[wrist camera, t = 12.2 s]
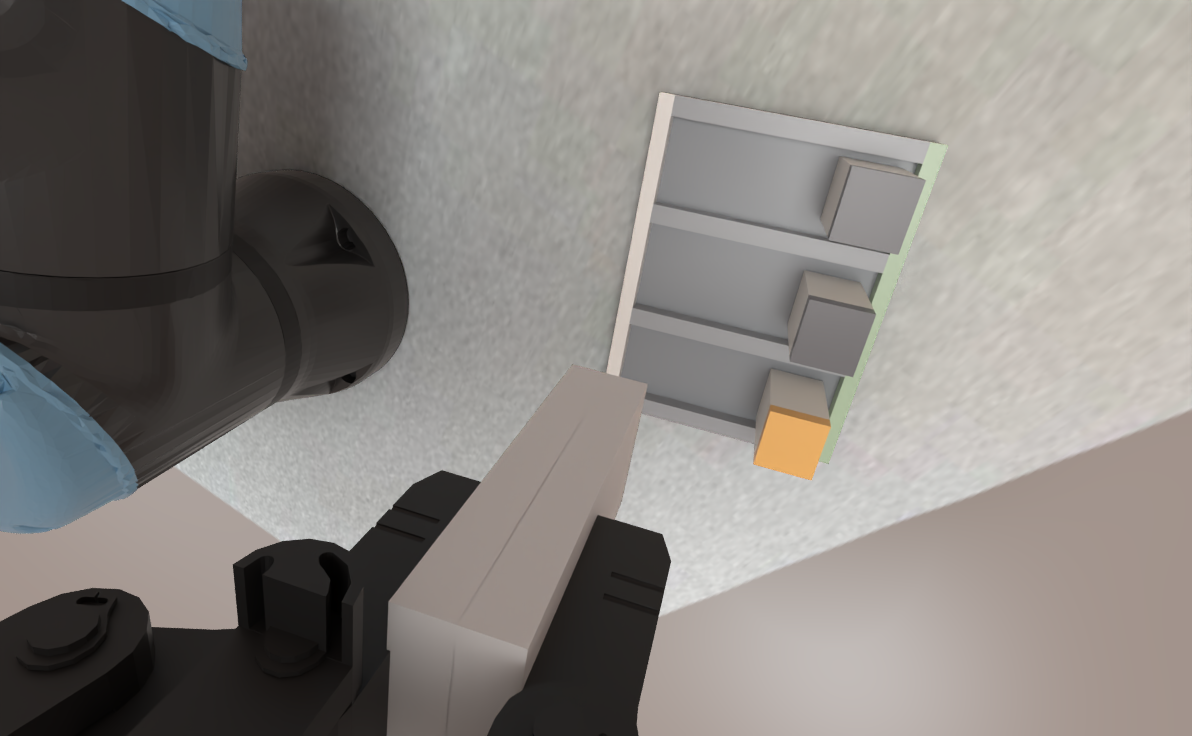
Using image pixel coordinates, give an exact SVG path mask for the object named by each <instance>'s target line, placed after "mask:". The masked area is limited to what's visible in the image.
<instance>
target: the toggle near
mask: <svg viewBox="0 0 1192 736" xmlns="http://www.w3.org/2000/svg"><path fill="white" fill-rule="evenodd" d="M925 182H926V180H924V179H922V178H920V177H918V176H916V175H914V174H913V173H911V172H909V171H907V170H905V169H903V168H899V167H894V166H889V165H884V164H879V163H874V162H868V161H863V160H858V159H853V158H848V157H842V156H840V157H839V160H838V164H837V167H836V170H835V173H834V176H833V180H832V183H831V186H830V189H829V193H828V196H827V199H826V202H825V205H824V209H823V212H822V215H821V218H820V220H821V222H822V225H823V227H824V230H825V232H826V235H827V237H828V240H831V241H836V242H840V243H845V244H850V245H854V246H859V247H864V248H868V249H873V250H878V251H882V252H887V253H892V254H896V255H899V252H900V249H901V247H902V244H903V241H904V239H905V236H906V233H907V230H908V228H909V225H910V222H911V220H912V217H913V214H914V212H915V209H916V206H917V203H918V201H919V198H920V195H921V193H922V190H923V187H924V185H925Z"/></svg>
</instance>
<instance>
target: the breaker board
mask: <svg viewBox="0 0 1192 736" xmlns="http://www.w3.org/2000/svg"><path fill="white" fill-rule="evenodd" d="M947 148H948V145H944V144H940V143H936V142H930V141H925V140H919V139H914V138H909V137H903V136H898V135H892V134H887V133H881V132H876V131H871V130H865V129H860V128H854V127H849V126H844V125H838V124H833V123H827V122H822V121H817V120H811V119H806V118H800V117H795V116H790V115H784V114H779V113H773V112H768V111H762V110H757V109H752V108H746V107H741V106H735V105H730V104H725V103H719V102H714V101H708V100H703V99H698V98H692V97H687V96H681V95H676V94H671V93H664V92H660V93H659V98H658V104H657V109H656V114H655V119H654V125H653V130H652V135H651V140H650V146H649V151H648V156H647V161H646V167H645V172H644V177H643V182H642V188H641V193H640V198H639V203H638V208H637V214H636V219H635V224H634V229H633V235H632V240H631V245H630V250H629V256H628V261H627V266H626V271H625V277H624V282H623V287H622V292H621V298H620V303H619V308H618V313H617V319H616V324H615V329H614V334H613V340H612V345H611V350H610V355H609V361H608V366H607V371H606V373H608V374H611V375H615V376H619V377H623V378H627V379H630V380H634V381H638V382H642V383H646V384H648V385H647V390H646V394H645V399H644V403H643V408H642V412H641V413H642V414H646V415H649V416H653V417H657V418H660V419H664V420H668V421H671V422H675V423H679V424H683V425H686V426H690V427H694V428H697V429H701V430H705V431H708V432H712V433H716V434H720V435H723V436H727V437H731V438H734V439H738V440H742V441H745V442H749V443H753V444H755V428H756V415H757V412H758V408H759V405H760V402H761V399H762V395H763V392H764V389H765V386H766V383H767V379H768V376H769V373H770V370H771V369H775V370H779V371H783V372H787V373H791V374H795V375H799V376H803V377H807V378H811V379H815V380H819V381H823V384H824V390H825V395H826V401H827V407H828V412H829V418H830V424H831V429H830V431H829V434H828V437H827V439H826V442H825V445H824V448H823V450H822V453H821V456H820V458H819V462H823V463H827V464H829V461H830V458H831V456H832V453H833V450H834V448H835V445H836V442H837V440H838V437H839V434H840V432H841V429H842V426H843V424H844V421H845V418H846V416H847V413H848V410H849V408H850V405H851V403H852V400H853V397H854V395H855V392H856V389H857V387H858V384H859V381H860V379H861V376H862V373H863V371H864V368H865V365H866V363H867V360H868V357H869V355H870V352H871V349H872V347H873V344H874V341H875V339H876V336H877V333H878V331H879V328H880V325H881V323H882V320H883V318H884V315H885V312H886V310H887V307H888V304H889V302H890V299H891V296H892V294H893V291H894V288H895V286H896V283H897V280H898V278H899V275H900V272H901V270H902V267H903V264H904V262H905V259H906V256H907V254H908V251H909V248H910V246H911V243H912V241H913V238H914V235H915V233H916V230H917V227H918V225H919V222H920V219H921V217H922V214H923V211H924V209H925V206H926V203H927V201H928V198H929V195H930V193H931V190H932V187H933V185H934V182H935V179H936V177H937V174H938V171H939V169H940V166H941V163H942V161H943V158H944V156H945V153H946V150H947ZM840 156H842V157H848V158H853V159H858V160H863V161H868V162H874V163H879V164H884V165H889V166H894V167H899V168H903V169H905V170H907V171H909V172H911V173H913V174H914V175H916V176H918V177H920V178H922V179H924V180H926V182H925V185H924V187H923V190H922V193H921V195H920V198H919V201H918V203H917V206H916V209H915V212H914V214H913V217H912V220H911V222H910V225H909V228H908V230H907V233H906V236H905V239H904V241H903V244H902V247H901V249H900V252H899V255H896V254H892V253H887V252H882V251H878V250H873V249H868V248H864V247H859V246H854V245H850V244H845V243H840V242H836V241H831V240H828V237H827V235H826V232H825V230H824V227H823V225H822V222H821V220H820V218H821V215H822V212H823V209H824V205H825V202H826V199H827V196H828V193H829V189H830V186H831V183H832V180H833V176H834V173H835V170H836V167H837V164H838V160H839V157H840ZM804 270H806V271H810V272H815V273H819V274H824V275H828V276H833V277H837V278H842V279H846V280H851V281H855V282H860V283H861V284H862V286H863V288H864V290H865V292H866V294H867V297H868V299H869V301H870V303H871V305H872V307H873V309H874V311H875V313H876V317H875V319H874V322H873V325H872V328H871V330H870V333H869V336H868V338H867V341H866V344H865V346H864V349H863V352H862V355H861V357H860V360H859V363H858V365H857V368H856V371H855V373H854V376H853V377H850V376H846V375H842V374H838V373H834V372H829V371H825V370H821V369H817V368H813V367H809V366H805V365H801V364H797V363H793V362H790V360H789V343H788V326H787V324H788V321H789V318H790V315H791V311H792V308H793V305H794V302H795V299H796V295H797V292H798V289H799V286H800V283H801V279H802V276H803V273H804Z"/></svg>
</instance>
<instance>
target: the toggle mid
mask: <svg viewBox="0 0 1192 736" xmlns="http://www.w3.org/2000/svg"><path fill="white" fill-rule="evenodd" d="M875 317H876V313H875V311H874V309H873V307H872V305H871V303H870V301H869V299H868V297H867V294H866V292H865V290H864V288H863V286H862V284H861V283H860V282H855V281H851V280H846V279H842V278H837V277H833V276H828V275H824V274H819V273H815V272H810V271H806V270H804V273H803V276H802V279H801V283H800V286H799V289H798V292H797V295H796V299H795V302H794V305H793V308H792V311H791V315H790V318H789V321H788V324H787V326H788V343H789V360H790V362H793V363H797V364H801V365H805V366H809V367H813V368H817V369H821V370H825V371H829V372H834V373H838V374H842V375H846V376H850V377H853V376H854V373H855V371H856V368H857V365H858V363H859V360H860V357H861V355H862V352H863V349H864V346H865V344H866V341H867V338H868V336H869V333H870V330H871V328H872V325H873V322H874V319H875Z"/></svg>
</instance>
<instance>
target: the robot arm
mask: <svg viewBox="0 0 1192 736" xmlns="http://www.w3.org/2000/svg"><path fill="white" fill-rule="evenodd" d="M246 69H247V59H246V57H245V56H244V54H243V53H242V0H0V531H3V532H10V533H41V532H46V531H50V530H52V529H58V528H60V527H63V526H65V525H67V524H69V523H71V522H73V521H75V520H77V519H79V518H80V517H83V516H85V515H86V514H88V513H90V512H92V511H94V510H96V509H98V508H100V507H101V506H103V505H105V504H107V503H109V502H111V501H113V500H114V501H116V500H119V499H124V498H126V497H128V496H130V495H131V494H133V493H134V492H135V491H136V490H137V489H138V488H140V487H141V486H143V485H144V484H146V483H148V482H149V481H151V480H152V479H154V478H156V477H157V476H159V475H160V474H162V473H164V472H165V471H167V470H168V469H170V468H171V467H173V466H175V465H176V464H178V463H180V462H181V461H183V460H184V459H186V458H188V457H189V456H191V455H192V454H194V453H196V452H197V451H199V450H200V449H202V448H204V447H205V446H207V445H208V444H210V443H212V442H213V441H215V440H216V439H218V438H220V437H221V436H223V435H224V434H226V433H228V432H229V431H231V430H233V429H234V428H236V427H237V426H239V425H241V424H242V423H244V422H245V421H247V420H249V419H250V418H252V417H253V416H255V415H257V414H258V413H259V412H261V411H263V410H264V409H266V408H268V407H269V406H271V405H273V404H274V403H276V402H281V401H287V400H294V399H300V398H306V397H313V396H319V395H325V394H331V393H336V392H339V391H342V390H345V389H348V388H350V387H352V386H355V385H356V384H358V383H360V382H361V381H363V380H364V379H366V378H367V377H369V376H370V375H372V374H373V373H375V372H376V371H378V370H379V369H380V368H381V367H383V366H384V365H385V364H386V363H387V362H388V361H389V359H390V358H391V357H392V356H393V354H394V353H395V351H396V350H397V348H398V346H399V344H400V342H401V339H402V337H403V334H404V331H405V326H406V321H407V314H408V293H407V285H406V280H405V275H404V271H403V268H402V265H401V262H400V259H399V257H398V254H397V252H396V249H395V247H394V245H393V243H392V241H391V240H390V238H389V236H388V234H387V233H386V231H385V230H384V228H383V227H382V225H381V224H380V222H379V221H378V220H377V219H376V217H375V216H374V215H373V214H372V213H371V211H370V210H369V209H368V208H367V207H366V206H365V205H364V204H363V203H362V202H361V201H360V200H358V199H357V198H356V197H355V196H354V195H352V194H351V193H350V192H348V191H347V190H346V189H344V188H343V187H341V186H339V185H338V184H336V183H334V182H332V181H330V180H328V179H326V178H324V177H321V176H318V175H316V174H312V173H309V172H304V171H298V170H276V171H269V172H262V173H255V174H250V175H246V176H243V177H240V178H238V179H236V172H237V152H238V131H239V111H240V90H241V70H244V71H246ZM647 385H648V384H646V383H642V382H638V381H634V380H630V379H627V378H623V377H619V376H615V375H611V374H608V373H604V372H600V371H596V370H592V369H589V368H585V367H581V366H577V365H573V364H572V366H571V367H570V368H569V369H568V371H567V372H566V373H565V375H564V376H563V377H562V378H561V380H560V381H559V382H558V384H557V385H556V386H555V387H554V389H553V390H552V391H551V393H550V394H549V395H548V397H547V398H546V399H545V400H544V402H543V403H542V404H541V406H540V407H539V408H538V409H537V411H536V412H535V413H534V415H533V416H532V417H531V418H530V420H529V421H528V422H527V424H526V425H525V426H524V427H523V429H522V430H521V431H520V433H519V434H518V435H517V437H516V438H515V439H514V440H513V442H512V443H511V444H510V446H509V447H508V448H507V449H506V451H505V452H504V453H503V455H502V456H501V457H500V458H499V460H498V461H497V462H496V464H495V465H494V466H493V467H492V469H491V470H490V471H489V473H488V474H487V475H486V477H485V478H484V479H483V480H482V482H479V481H476V480H473V479H469V478H466V477H463V476H459V475H456V474H453V473H449V472H446V471H443V470H442V471H439V472H437V473H435V474H433V475H431V476H429V477H427V478H425V479H423V480H421V481H419V482H417V483H415V484H413V485H412V486H411V487H410V488H409V489H408V490H407V491H406V492H405V493H404V494H403V495H402V496H401V497H400V499H399V500H398V501H397V502H396V503H395V504H394V505H393V508H392V510H390V509H389V510H388V511H387V512H386V513H385V514H384V515H383V516H382V517H381V519H380V520H379V521H378V522H377V524H376V526H375V528H374V527H372V528H371V529H370V530H369V531H368V532H367V533H366V534H365V535H364V536H363V538H362V539H361V540H360V541H359V542H358V543H357V544H356V545H355V546H354V547H353V548H352V549H351V550H350V551H348V550H346V549H344V548H342V547H340V546H339V545H337V544H335V543H331V542H325V541H319V540H313V539H303V540H291V541H282V542H279V543H276V544H273V545H270V546H267V547H264V548H261V549H258V550H255V551H254V552H252V553H251V554H249V555H247V556H246V557H244V558H243V559H241V560H239V561H238V562H236V563H235V564H233V571H234V582H235V593H236V604H237V613H238V625H239V626H238V627H237V628H236V629H221V630H206V629H183V628H159V627H151V622H150V616H149V611H148V610H147V609H146V607H145V605H144V604H143V603H142V601H141V600H140V598H139V597H137V596H134V595H132V594H129V593H127V592H125V591H122V590H120V589H101V588H91V589H85V590H80V591H74V592H70V593H64V594H60V595H58V596H55V597H53V598H51V599H48V600H45V601H42V602H40V603H37V604H35V605H32V606H30V607H28V608H26V609H24V610H22V611H20V612H18V613H16V614H14V615H12V616H10V617H8V618H6V619H4V620H3V621H1V622H0V736H638V730H637V713H638V704H639V701H640V696H641V691H642V687H643V683H644V678H645V674H646V669H647V665H648V660H649V656H650V652H651V647H652V643H653V639H654V634H655V630H656V625H657V621H658V616H659V612H660V608H661V603H662V599H663V594H664V590H665V586H666V581H667V577H668V572H669V568H670V563H671V560H670V556H669V553H668V550H667V547H666V544H665V541H664V538H663V535H662V534H660V533H656V532H653V531H650V530H646V529H643V528H640V527H636V526H633V525H630V524H627V523H623V522H620V521H617V520H615V517H616V515H617V512H618V509H619V507H620V504H621V502H622V498H623V493H624V489H625V484H626V480H627V475H628V471H629V466H630V462H631V457H632V453H633V448H634V444H635V439H636V435H637V430H638V426H639V421H640V417H641V412H642V408H643V403H644V399H645V394H646V390H647Z"/></svg>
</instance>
